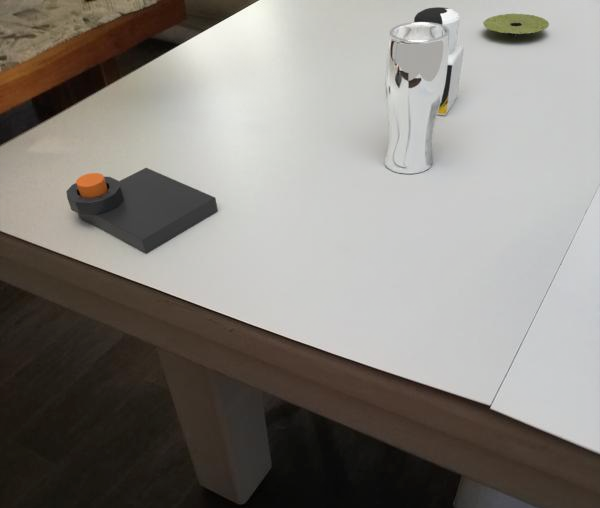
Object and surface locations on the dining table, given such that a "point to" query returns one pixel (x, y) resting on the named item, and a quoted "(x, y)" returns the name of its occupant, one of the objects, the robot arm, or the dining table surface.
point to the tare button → (91, 185)
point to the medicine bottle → (454, 54)
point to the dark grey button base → (144, 208)
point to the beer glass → (414, 92)
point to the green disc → (516, 23)
